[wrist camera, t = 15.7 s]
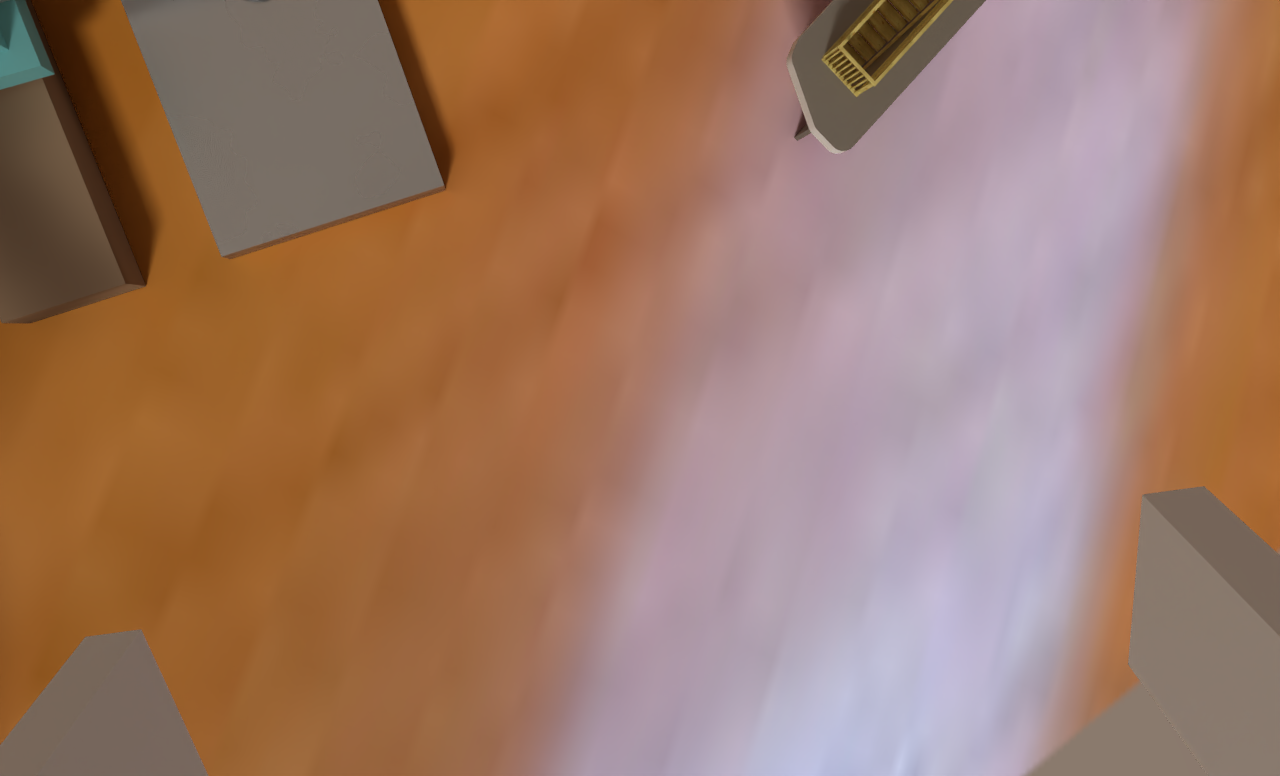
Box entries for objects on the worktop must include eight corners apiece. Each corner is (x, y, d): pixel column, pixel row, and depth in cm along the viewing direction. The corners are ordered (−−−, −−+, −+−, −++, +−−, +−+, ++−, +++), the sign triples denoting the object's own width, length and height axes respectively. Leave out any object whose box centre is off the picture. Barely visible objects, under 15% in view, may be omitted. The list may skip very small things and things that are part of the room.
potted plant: (580, 108, 36) (603, 61, 30) (888, -221, 37) (975, -334, 31) (797, 322, 38) (864, 322, 32) (1083, 4, 39) (1202, -58, 33)
